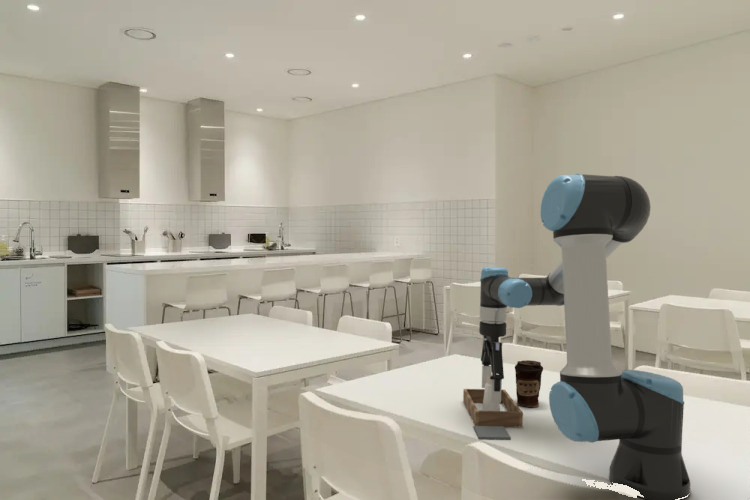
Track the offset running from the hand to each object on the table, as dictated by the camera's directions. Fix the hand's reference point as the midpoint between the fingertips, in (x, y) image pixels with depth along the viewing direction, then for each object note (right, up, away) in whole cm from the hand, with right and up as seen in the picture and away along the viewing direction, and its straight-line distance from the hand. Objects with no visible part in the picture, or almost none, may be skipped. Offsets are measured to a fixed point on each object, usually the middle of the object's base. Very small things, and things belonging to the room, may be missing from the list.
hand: (490, 394), depth 161 cm
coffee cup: (+13, -6, +9) cm, 17 cm away
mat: (-3, -6, -16) cm, 17 cm away
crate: (0, -5, 0) cm, 5 cm away
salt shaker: (0, -6, 0) cm, 6 cm away
